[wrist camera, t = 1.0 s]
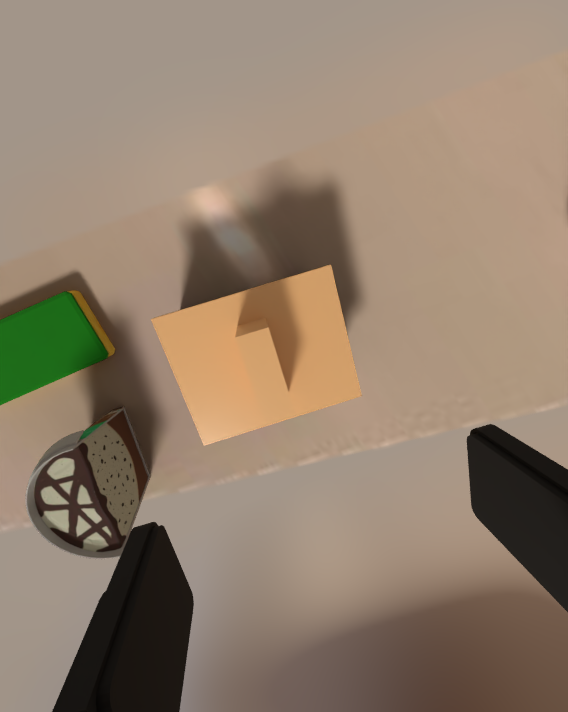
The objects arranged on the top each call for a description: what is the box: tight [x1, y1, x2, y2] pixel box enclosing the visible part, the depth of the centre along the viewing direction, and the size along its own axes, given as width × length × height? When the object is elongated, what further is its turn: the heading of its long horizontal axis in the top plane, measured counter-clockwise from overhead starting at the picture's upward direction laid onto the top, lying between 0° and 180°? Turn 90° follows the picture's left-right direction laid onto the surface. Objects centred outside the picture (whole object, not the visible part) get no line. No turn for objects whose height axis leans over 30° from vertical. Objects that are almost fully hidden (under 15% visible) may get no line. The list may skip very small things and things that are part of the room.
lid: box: [151, 265, 362, 446], centre depth 26 cm, size 15×12×6 cm
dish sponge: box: [0, 290, 115, 405], centre depth 32 cm, size 7×14×2 cm, turn 113°
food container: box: [26, 407, 150, 559], centre depth 31 cm, size 12×6×10 cm, turn 11°
